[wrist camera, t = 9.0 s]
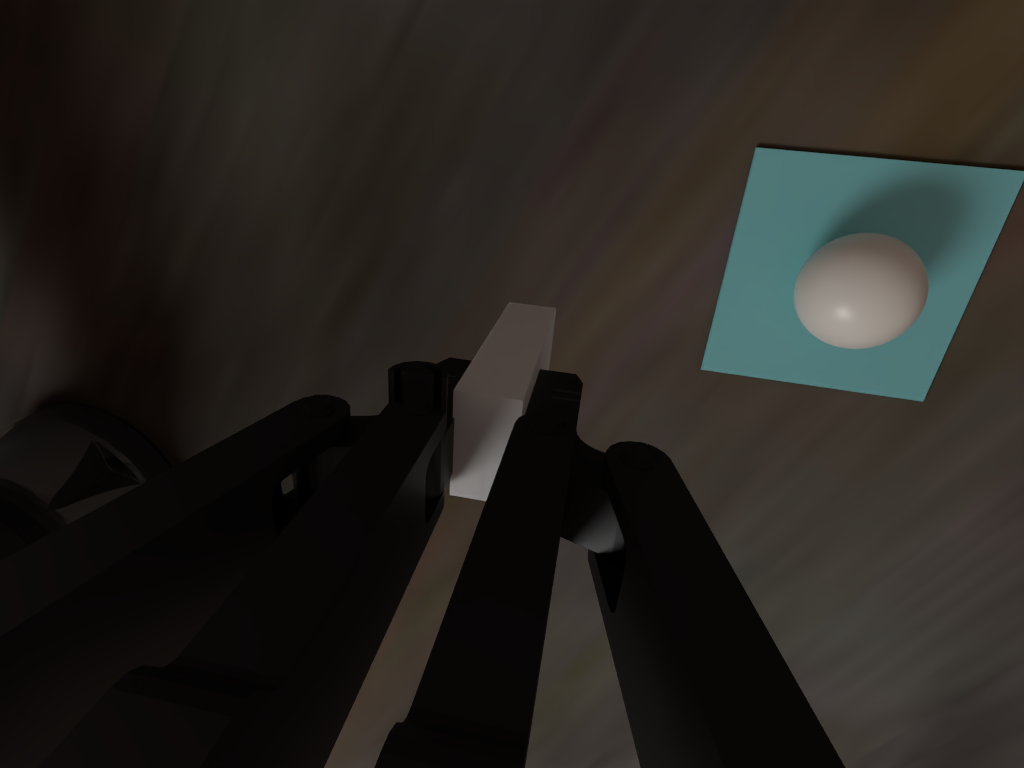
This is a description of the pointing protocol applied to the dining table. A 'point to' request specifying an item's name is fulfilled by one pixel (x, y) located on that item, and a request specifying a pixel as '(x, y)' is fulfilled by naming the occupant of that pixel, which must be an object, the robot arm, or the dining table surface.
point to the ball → (861, 290)
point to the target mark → (836, 213)
